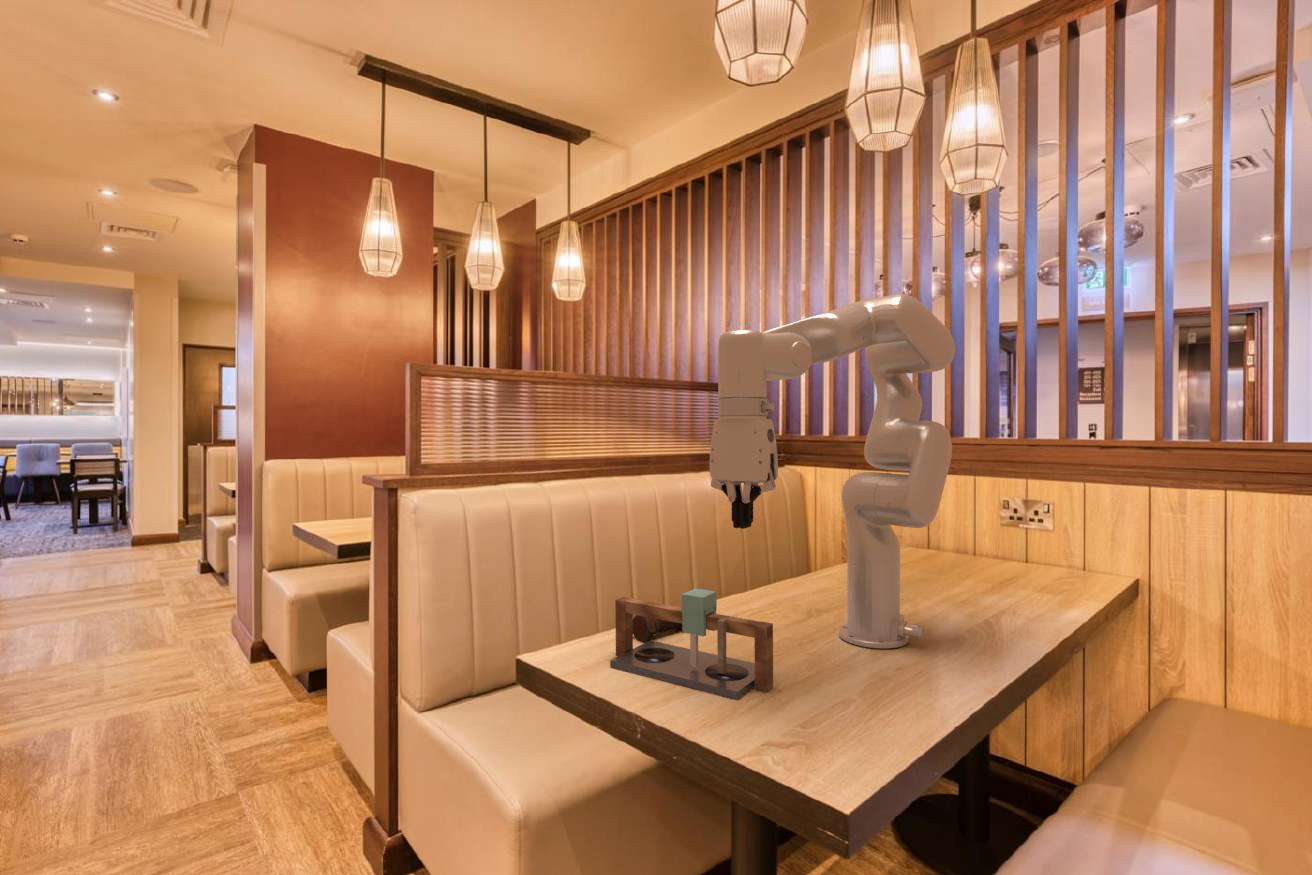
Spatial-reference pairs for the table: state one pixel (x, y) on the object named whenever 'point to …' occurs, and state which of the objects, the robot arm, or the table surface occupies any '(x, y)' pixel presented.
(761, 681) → the beam
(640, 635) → the bolt
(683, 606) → the slider block
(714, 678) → the hole plate
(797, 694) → the table surface
